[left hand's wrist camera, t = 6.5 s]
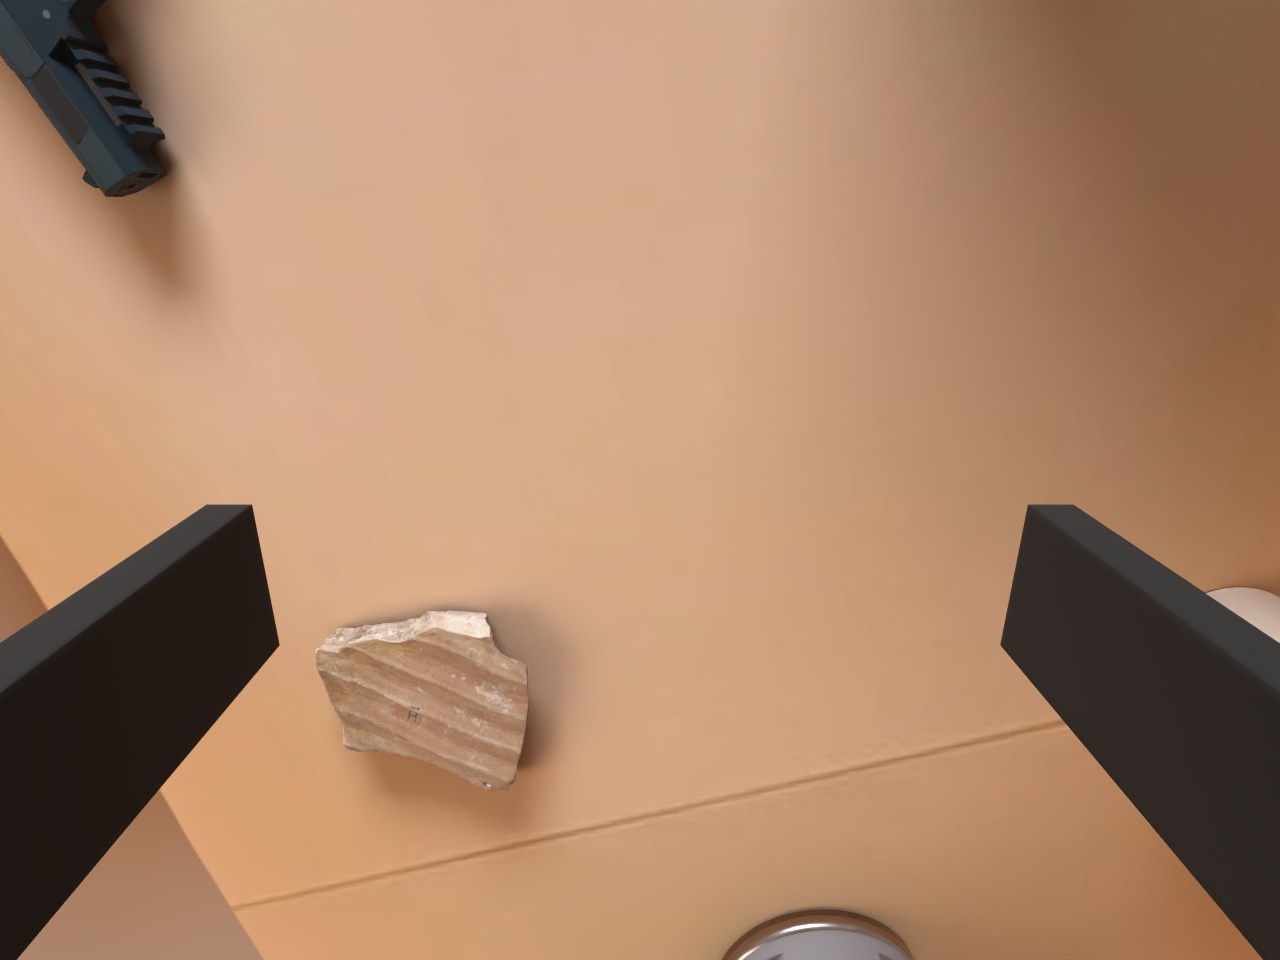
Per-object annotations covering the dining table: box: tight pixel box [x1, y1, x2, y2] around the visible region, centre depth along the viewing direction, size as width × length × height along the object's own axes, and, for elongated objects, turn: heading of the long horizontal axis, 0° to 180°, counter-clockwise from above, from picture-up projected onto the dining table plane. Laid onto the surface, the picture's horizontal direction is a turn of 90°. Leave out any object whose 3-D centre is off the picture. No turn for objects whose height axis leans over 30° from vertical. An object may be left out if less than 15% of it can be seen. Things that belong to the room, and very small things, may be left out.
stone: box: [315, 611, 529, 790], centre depth 45 cm, size 13×12×3 cm
